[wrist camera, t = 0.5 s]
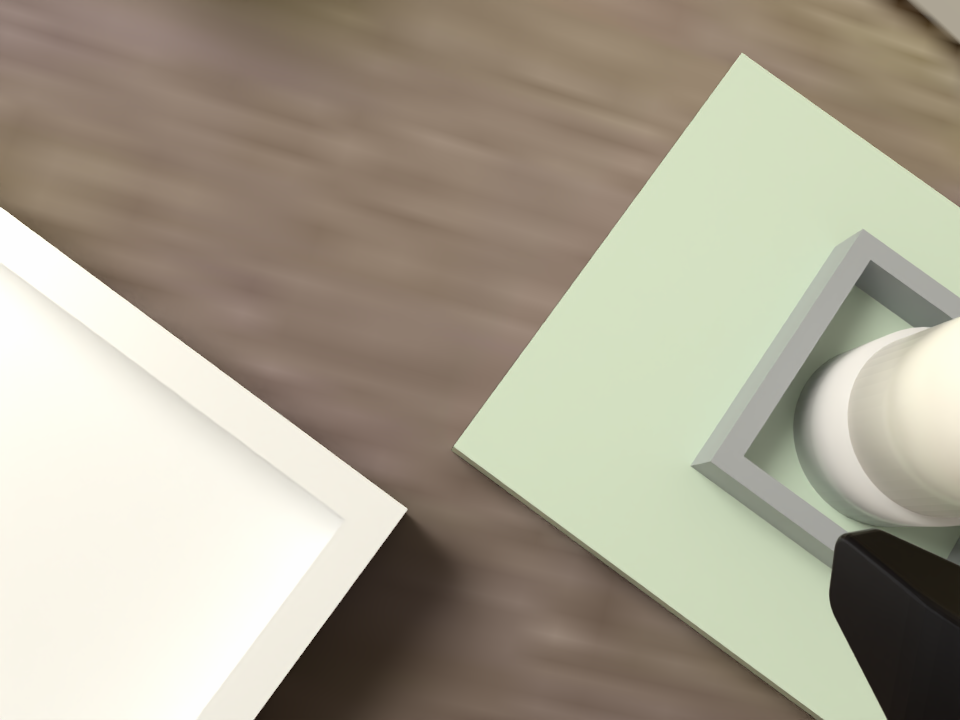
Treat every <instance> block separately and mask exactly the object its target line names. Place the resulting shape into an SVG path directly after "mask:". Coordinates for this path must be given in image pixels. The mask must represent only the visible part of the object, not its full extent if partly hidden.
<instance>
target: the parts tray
mask: <svg viewBox="0 0 960 720" xmlns="http://www.w3.org/2000/svg"><path fill="white" fill-rule="evenodd" d="M407 510H408V509H407V508H406V507H404V506H403V505H401V504H400V503H399V502H397V501H396V500H395V499H393V498H392V497H391V496H389V495H388V494H387V493H385V492H384V491H383V490H381V489H380V488H379V487H377V486H376V485H375V484H373V483H372V482H370V481H369V480H368V479H366V478H365V477H364V476H362V475H361V474H360V473H358V472H357V471H356V470H354V469H353V468H352V467H350V466H349V465H348V464H346V463H345V462H344V461H342V460H341V459H339V458H338V457H337V456H335V455H334V454H333V453H331V452H330V451H329V450H327V449H326V448H325V447H323V446H322V445H321V444H319V443H318V442H317V441H315V440H314V439H313V438H311V437H310V436H308V435H307V434H306V433H304V432H303V431H302V430H300V429H299V428H298V427H296V426H295V425H294V424H292V423H291V422H290V421H288V420H287V419H286V418H284V417H283V416H282V415H280V414H279V413H277V412H276V411H275V410H273V409H272V408H271V407H269V406H268V405H267V404H265V403H264V402H263V401H261V400H260V399H259V398H257V397H256V396H255V395H253V394H252V393H250V392H249V391H248V390H246V389H245V388H244V387H242V386H241V385H240V384H238V383H237V382H236V381H234V380H233V379H232V378H230V377H229V376H228V375H226V374H225V373H224V372H222V371H221V370H219V369H218V368H217V367H215V366H214V365H213V364H211V363H210V362H209V361H207V360H206V359H205V358H203V357H202V356H201V355H199V354H198V353H197V352H195V351H194V350H193V349H191V348H190V347H188V346H187V345H186V344H184V343H183V342H182V341H180V340H179V339H178V338H176V337H175V336H174V335H172V334H171V333H170V332H168V331H167V330H166V329H164V328H163V327H162V326H160V325H159V324H157V323H156V322H155V321H153V320H152V319H151V318H149V317H148V316H147V315H145V314H144V313H143V312H141V311H140V310H139V309H137V308H136V307H135V306H133V305H132V304H131V303H129V302H128V301H126V300H125V299H124V298H122V297H121V296H120V295H118V294H117V293H116V292H114V291H113V290H112V289H110V288H109V287H108V286H106V285H105V284H104V283H102V282H101V281H100V280H98V279H97V278H95V277H94V276H93V275H91V274H90V273H89V272H87V271H86V270H85V269H83V268H82V267H81V266H79V265H78V264H77V263H75V262H74V261H73V260H71V259H70V258H68V257H67V256H66V255H64V254H63V253H62V252H60V251H59V250H58V249H56V248H55V247H54V246H52V245H51V244H50V243H48V242H47V241H46V240H44V239H43V238H42V237H40V236H39V235H37V234H36V233H35V232H33V231H32V230H31V229H29V228H28V227H27V226H25V225H24V224H23V223H21V222H20V221H19V220H17V219H16V218H15V217H13V216H12V215H11V214H9V213H8V212H6V211H5V210H4V209H2V208H1V207H0V720H254V719H255V717H256V716H257V714H258V713H259V712H260V710H261V709H262V708H263V706H264V705H265V703H266V702H267V701H268V699H269V698H270V697H271V695H272V694H273V693H274V691H275V690H276V688H277V687H278V686H279V684H280V683H281V682H282V680H283V679H284V678H285V676H286V675H287V673H288V672H289V671H290V669H291V668H292V667H293V665H294V664H295V663H296V661H297V660H298V658H299V657H300V656H301V654H302V653H303V652H304V650H305V649H306V647H307V646H308V645H309V643H310V642H311V641H312V639H313V638H314V637H315V635H316V634H317V632H318V631H319V630H320V628H321V627H322V626H323V624H324V623H325V622H326V620H327V619H328V617H329V616H330V615H331V613H332V612H333V611H334V609H335V608H336V607H337V605H338V604H339V602H340V601H341V600H342V598H343V597H344V596H345V594H346V593H347V592H348V590H349V589H350V587H351V586H352V585H353V583H354V582H355V581H356V579H357V578H358V576H359V575H360V574H361V572H362V571H363V570H364V568H365V567H366V566H367V564H368V563H369V561H370V560H371V559H372V557H373V556H374V555H375V553H376V552H377V551H378V549H379V548H380V546H381V545H382V544H383V542H384V541H385V540H386V538H387V537H388V536H389V534H390V533H391V531H392V530H393V529H394V527H395V526H396V525H397V523H398V522H399V521H400V519H401V518H402V516H403V515H404V514H405V512H406V511H407Z"/></svg>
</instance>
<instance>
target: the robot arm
mask: <svg viewBox="0 0 960 720" xmlns="http://www.w3.org/2000/svg"><path fill="white" fill-rule="evenodd" d="M829 601H830V606H831V609H832V612H833V615H834V617H835V619H836V621H837V623H838V625H839V627H840V629H841V631H842V633H843V635H844V636H845V638H846V640H847V642H848V644H849V646H850V648H851V650H852V652H853V654H854V656H855V658H856V660H857V662H858V664H859V666H860V668H861V670H862V672H863V674H864V675H865V677H866V679H867V681H868V683H869V685H870V687H871V689H872V691H873V693H874V695H875V697H876V699H877V701H878V703H879V705H880V707H881V709H882V711H883V713H884V715H885V716H886V718H887V720H960V565H958V564H955V563H953V562H951V561H949V560H947V559H944V558H942V557H940V556H938V555H936V554H933V553H931V552H929V551H927V550H925V549H923V548H920V547H918V546H916V545H914V544H912V543H909V542H907V541H905V540H903V539H901V538H898V537H896V536H894V535H892V534H890V533H887V532H885V531H883V530H880V529H876V528H869V529H864V530H858V531H853V532H847V533H844V534H842V535H840V536H839V537H838V539H837V541H836V543H835V548H834V556H833V563H832V571H831V579H830V587H829Z"/></svg>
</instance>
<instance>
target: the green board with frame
mask: <svg viewBox="0 0 960 720" xmlns="http://www.w3.org/2000/svg"><path fill="white" fill-rule="evenodd" d="M957 317H960V208H959V207H958V206H957V205H955V204H954V203H952V202H951V201H950V200H948V199H947V198H945V197H944V196H943V195H941V194H940V193H938V192H937V191H935V190H934V189H933V188H931V187H930V186H928V185H927V184H926V183H924V182H923V181H921V180H920V179H919V178H917V177H916V176H914V175H913V174H912V173H910V172H909V171H907V170H906V169H905V168H903V167H902V166H900V165H899V164H897V163H896V162H895V161H893V160H892V159H890V158H889V157H888V156H886V155H885V154H883V153H882V152H881V151H879V150H878V149H876V148H875V147H874V146H872V145H871V144H869V143H868V142H867V141H865V140H864V139H862V138H861V137H859V136H858V135H857V134H855V133H854V132H852V131H851V130H850V129H848V128H847V127H845V126H844V125H843V124H841V123H840V122H838V121H837V120H836V119H834V118H833V117H831V116H830V115H829V114H827V113H826V112H824V111H823V110H822V109H820V108H819V107H817V106H816V105H814V104H813V103H812V102H810V101H809V100H807V99H806V98H805V97H803V96H802V95H800V94H799V93H798V92H796V91H795V90H793V89H792V88H791V87H789V86H788V85H786V84H785V83H784V82H782V81H781V80H779V79H778V78H776V77H775V76H774V75H772V74H771V73H769V72H768V71H767V70H765V69H764V68H762V67H761V66H760V65H758V64H757V63H755V62H754V61H753V60H751V59H750V58H748V57H747V56H746V55H744V54H743V53H741V55H740V56H739V57H738V59H737V60H736V62H735V63H734V64H733V66H732V67H731V68H730V70H729V71H728V72H727V74H726V75H725V77H724V78H723V79H722V81H721V82H720V83H719V85H718V86H717V87H716V89H715V90H714V92H713V93H712V94H711V96H710V97H709V98H708V100H707V101H706V103H705V104H704V105H703V107H702V108H701V109H700V111H699V112H698V113H697V115H696V116H695V118H694V119H693V120H692V122H691V123H690V124H689V126H688V127H687V128H686V130H685V131H684V133H683V134H682V135H681V137H680V138H679V139H678V141H677V142H676V143H675V145H674V146H673V148H672V149H671V150H670V152H669V153H668V154H667V156H666V157H665V158H664V160H663V161H662V163H661V164H660V165H659V167H658V168H657V169H656V171H655V172H654V174H653V175H652V176H651V178H650V179H649V180H648V182H647V183H646V184H645V186H644V187H643V189H642V190H641V191H640V193H639V194H638V195H637V197H636V198H635V199H634V201H633V202H632V204H631V205H630V206H629V208H628V209H627V210H626V212H625V213H624V214H623V216H622V217H621V219H620V220H619V221H618V223H617V224H616V225H615V227H614V228H613V229H612V231H611V232H610V234H609V235H608V236H607V238H606V239H605V240H604V242H603V243H602V244H601V246H600V247H599V249H598V250H597V251H596V253H595V254H594V255H593V257H592V258H591V260H590V261H589V262H588V264H587V265H586V266H585V268H584V269H583V270H582V272H581V273H580V275H579V276H578V277H577V279H576V280H575V281H574V283H573V284H572V285H571V287H570V288H569V290H568V291H567V292H566V294H565V295H564V296H563V298H562V299H561V300H560V302H559V303H558V305H557V306H556V307H555V309H554V310H553V311H552V313H551V314H550V315H549V317H548V318H547V320H546V321H545V322H544V324H543V325H542V326H541V328H540V329H539V331H538V332H537V333H536V335H535V336H534V337H533V339H532V340H531V341H530V343H529V344H528V346H527V347H526V348H525V350H524V351H523V352H522V354H521V355H520V356H519V358H518V359H517V361H516V362H515V363H514V365H513V366H512V367H511V369H510V370H509V371H508V373H507V374H506V376H505V377H504V378H503V380H502V381H501V382H500V384H499V385H498V386H497V388H496V389H495V391H494V392H493V393H492V395H491V396H490V397H489V399H488V400H487V402H486V403H485V404H484V406H483V407H482V408H481V410H480V411H479V412H478V414H477V415H476V417H475V418H474V419H473V421H472V422H471V423H470V425H469V426H468V427H467V429H466V430H465V432H464V433H463V434H462V436H461V437H460V438H459V440H458V441H457V442H456V444H455V445H454V447H453V448H452V449H451V450H452V451H453V452H454V453H456V454H457V455H458V456H460V457H461V458H463V459H464V460H465V461H467V462H468V463H469V464H471V465H472V466H473V467H475V468H476V469H477V470H479V471H480V472H481V473H483V474H484V475H486V476H487V477H488V478H490V479H491V480H492V481H494V482H495V483H496V484H498V485H499V486H500V487H502V488H503V489H505V490H506V491H507V492H509V493H510V494H511V495H513V496H514V497H515V498H517V499H518V500H519V501H521V502H522V503H524V504H525V505H526V506H528V507H529V508H530V509H532V510H533V511H534V512H536V513H537V514H538V515H540V516H541V517H543V518H544V519H545V520H547V521H548V522H549V523H551V524H552V525H553V526H555V527H556V528H557V529H559V530H560V531H561V532H563V533H564V534H566V535H567V536H568V537H570V538H571V539H572V540H574V541H575V542H576V543H578V544H579V545H580V546H582V547H583V548H585V549H586V550H587V551H589V552H590V553H591V554H593V555H594V556H595V557H597V558H598V559H599V560H601V561H602V562H604V563H605V564H606V565H608V566H609V567H610V568H612V569H613V570H614V571H616V572H617V573H618V574H620V575H621V576H622V577H624V578H625V579H627V580H628V581H629V582H631V583H632V584H633V585H635V586H636V587H637V588H639V589H640V590H641V591H643V592H644V593H646V594H647V595H648V596H650V597H651V598H652V599H654V600H655V601H656V602H658V603H659V604H660V605H662V606H663V607H665V608H666V609H667V610H669V611H670V612H671V613H673V614H674V615H675V616H677V617H678V618H679V619H681V620H682V621H683V622H685V623H686V624H688V625H689V626H690V627H692V628H693V629H694V630H696V631H697V632H698V633H700V634H701V635H702V636H704V637H705V638H707V639H708V640H709V641H711V642H712V643H713V644H715V645H716V646H717V647H719V648H720V649H721V650H723V651H724V652H726V653H727V654H728V655H730V656H731V657H732V658H734V659H735V660H736V661H738V662H739V663H740V664H742V665H743V666H744V667H746V668H747V669H749V670H750V671H751V672H753V673H754V674H755V675H757V676H758V677H759V678H761V679H762V680H763V681H765V682H766V683H768V684H769V685H770V686H772V687H773V688H774V689H776V690H777V691H778V692H780V693H781V694H782V695H784V696H785V697H787V698H788V699H789V700H791V701H792V702H793V703H795V704H796V705H797V706H799V707H800V708H801V709H803V710H804V711H805V712H807V713H808V714H810V715H811V716H812V717H814V718H815V719H816V720H887V718H886V716H885V715H884V713H883V711H882V709H881V707H880V705H879V703H878V701H877V699H876V697H875V695H874V693H873V691H872V689H871V687H870V685H869V683H868V681H867V679H866V677H865V675H864V674H863V672H862V670H861V668H860V666H859V664H858V662H857V660H856V658H855V656H854V654H853V652H852V650H851V648H850V646H849V644H848V642H847V640H846V638H845V636H844V635H843V633H842V631H841V629H840V627H839V625H838V623H837V621H836V619H835V617H834V615H833V612H832V609H831V606H830V601H829V587H830V579H831V571H832V563H833V556H834V548H835V543H836V541H837V539H838V537H839V536H840V535H842V534H844V533H847V532H853V531H858V530H864V529H869V528H876V529H880V530H883V531H885V532H887V533H890V534H892V535H894V536H896V537H898V538H901V539H903V540H905V541H907V542H909V543H912V544H914V545H916V546H918V547H920V548H923V549H925V550H927V551H929V552H931V553H933V554H936V555H938V556H940V557H942V558H944V559H947V560H949V561H951V562H953V563H955V564H958V565H960V525H958V526H948V527H878V526H872V525H867V524H864V523H861V522H858V521H855V520H853V519H851V518H849V517H846V516H844V515H843V514H841V513H840V512H838V511H837V510H835V509H834V508H833V507H831V506H830V505H829V504H828V503H826V502H825V501H824V500H823V499H822V497H821V496H820V495H819V494H818V493H817V492H816V491H815V489H814V488H813V487H812V485H811V484H810V483H809V481H808V479H807V477H806V476H805V474H804V472H803V470H802V467H801V465H800V463H799V460H798V457H797V453H796V449H795V443H794V436H793V422H794V413H795V409H796V404H797V401H798V399H799V396H800V393H801V391H802V389H803V387H804V386H805V384H806V382H807V381H808V379H809V378H810V377H811V375H812V374H813V373H814V372H815V371H816V370H817V369H818V368H819V367H820V366H821V365H822V364H824V363H825V362H826V361H828V360H829V359H831V358H833V357H835V356H836V355H838V354H841V353H843V352H846V351H848V350H851V349H853V348H856V347H858V346H861V345H864V344H866V343H869V342H871V341H874V340H876V339H879V338H881V337H884V336H886V335H889V334H892V333H894V332H897V331H900V330H904V329H909V328H917V327H934V326H936V325H939V324H942V323H944V322H947V321H950V320H952V319H955V318H957Z"/></svg>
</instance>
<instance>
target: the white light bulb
mask: <svg viewBox="0 0 960 720" xmlns="http://www.w3.org/2000/svg"><path fill="white" fill-rule="evenodd" d="M793 436H794V443H795V449H796V453H797V457H798V460H799V463H800V465H801V467H802V470H803V472H804V474H805V476H806V477H807V479H808V481H809V483H810V484H811V485H812V487H813V488H814V489H815V491H816V492H817V493H818V494H819V495H820V496H821V497H822V499H823V500H824V501H825V502H826V503H828V504H829V505H830V506H831V507H833V508H834V509H835V510H837V511H838V512H840V513H841V514H843V515H844V516H846V517H849V518H851V519H853V520H855V521H858V522H861V523H864V524H867V525H872V526H878V527H948V526H958V525H960V317H957V318H955V319H952V320H950V321H947V322H944V323H942V324H939V325H936V326H934V327H917V328H909V329H904V330H900V331H897V332H894V333H892V334H889V335H886V336H884V337H881V338H879V339H876V340H874V341H871V342H869V343H866V344H864V345H861V346H858V347H856V348H853V349H851V350H848V351H846V352H843V353H841V354H838V355H836V356H835V357H833V358H831V359H829V360H828V361H826V362H825V363H824V364H822V365H821V366H820V367H819V368H818V369H817V370H816V371H815V372H814V373H813V374H812V375H811V377H810V378H809V379H808V381H807V382H806V384H805V386H804V387H803V389H802V391H801V393H800V396H799V399H798V401H797V404H796V409H795V413H794V422H793Z"/></svg>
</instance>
